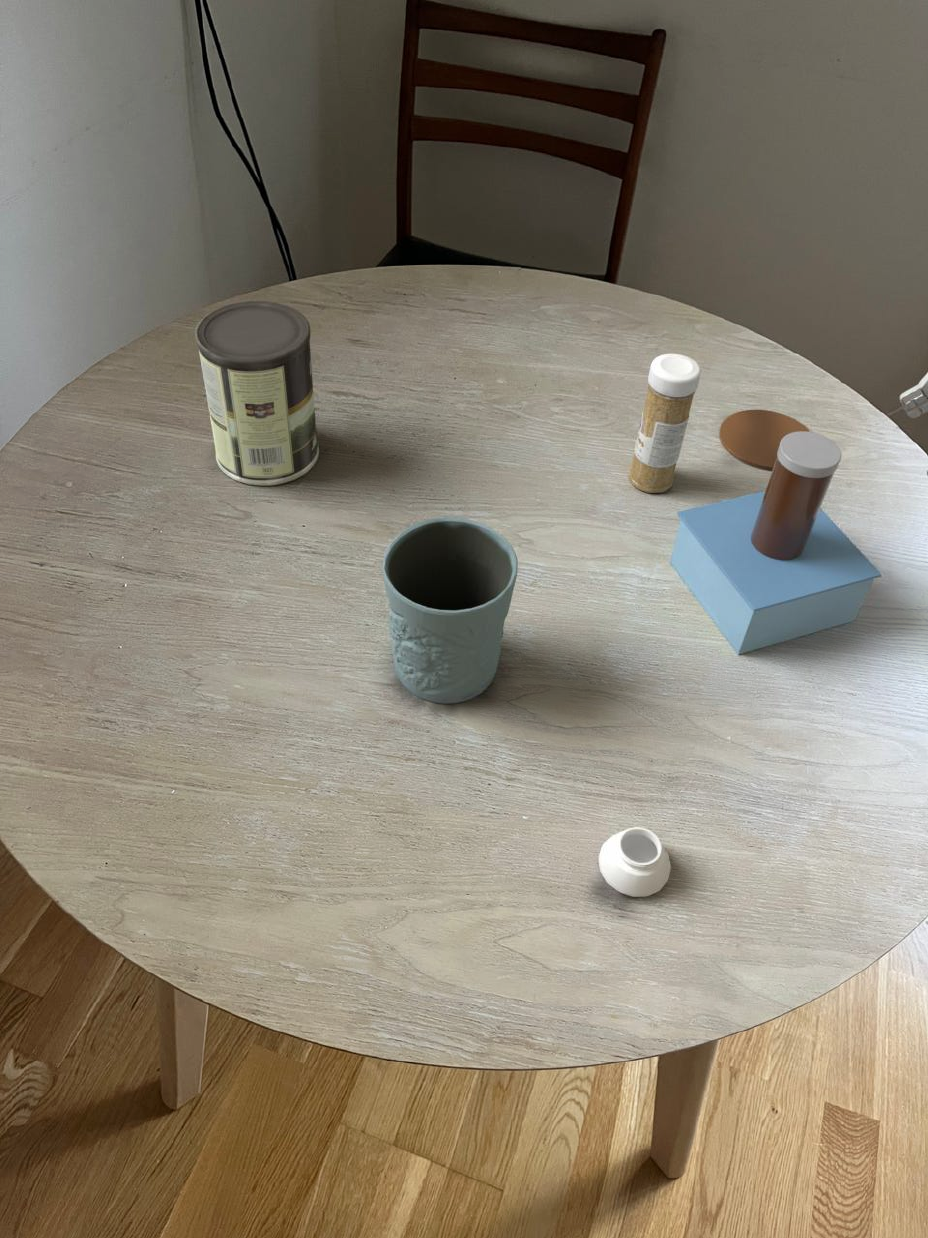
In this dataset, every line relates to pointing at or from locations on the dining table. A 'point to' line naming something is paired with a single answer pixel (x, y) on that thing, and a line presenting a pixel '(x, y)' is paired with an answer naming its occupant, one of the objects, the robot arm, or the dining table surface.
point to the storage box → (767, 575)
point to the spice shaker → (794, 494)
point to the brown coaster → (757, 435)
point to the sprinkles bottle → (663, 421)
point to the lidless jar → (635, 862)
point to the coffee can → (259, 391)
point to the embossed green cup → (448, 606)
